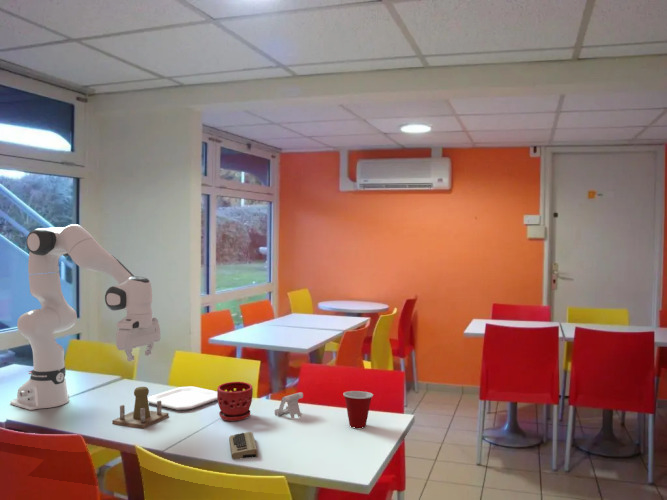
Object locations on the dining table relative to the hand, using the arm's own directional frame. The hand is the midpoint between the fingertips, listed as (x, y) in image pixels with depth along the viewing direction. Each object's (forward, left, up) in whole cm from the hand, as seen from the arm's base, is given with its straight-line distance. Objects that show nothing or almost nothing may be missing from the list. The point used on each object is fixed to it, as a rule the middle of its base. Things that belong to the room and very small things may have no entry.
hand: (139, 357), depth 208 cm
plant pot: (+32, +15, -23) cm, 42 cm away
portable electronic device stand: (+50, +25, -23) cm, 60 cm away
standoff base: (+1, 0, -23) cm, 23 cm away
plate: (+2, +26, -24) cm, 35 cm away
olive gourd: (+1, 0, -22) cm, 22 cm away
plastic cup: (+78, +23, -23) cm, 84 cm away
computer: (+50, -11, -24) cm, 56 cm away
